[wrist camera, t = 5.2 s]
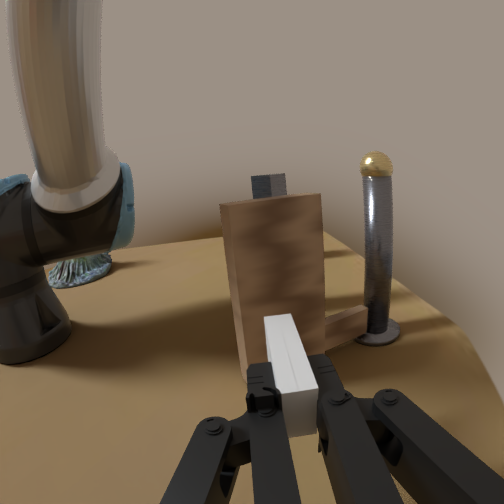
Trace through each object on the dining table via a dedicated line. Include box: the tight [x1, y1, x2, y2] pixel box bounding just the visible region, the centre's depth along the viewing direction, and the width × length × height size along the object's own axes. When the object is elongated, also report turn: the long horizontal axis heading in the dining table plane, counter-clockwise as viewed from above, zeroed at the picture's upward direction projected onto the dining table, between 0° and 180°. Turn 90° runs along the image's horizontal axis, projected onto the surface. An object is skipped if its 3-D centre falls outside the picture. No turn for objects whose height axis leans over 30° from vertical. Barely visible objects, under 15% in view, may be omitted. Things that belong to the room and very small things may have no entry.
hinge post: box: [353, 151, 400, 346], centre depth 30 cm, size 6×6×20 cm
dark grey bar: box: [251, 173, 287, 199], centre depth 40 cm, size 6×6×18 cm
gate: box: [219, 193, 368, 383], centre depth 27 cm, size 14×2×16 cm, turn 114°
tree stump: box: [49, 253, 112, 289], centre depth 68 cm, size 18×20×18 cm
